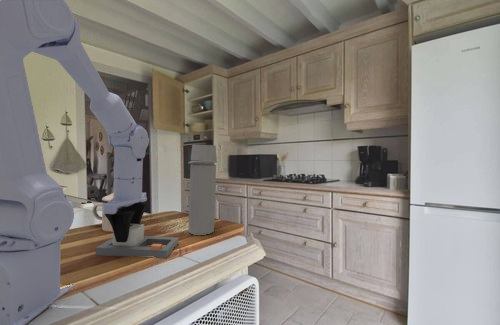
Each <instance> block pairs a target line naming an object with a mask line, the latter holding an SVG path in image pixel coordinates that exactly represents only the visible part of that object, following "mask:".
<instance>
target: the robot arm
mask: <svg viewBox="0 0 500 325" xmlns="http://www.w3.org/2000/svg"><path fill="white" fill-rule="evenodd" d="M31 53H35V54H38V55H41V56H44V57H47V58H49V59H52V60H55V61H57V62H58V63H59V64H60V66H61V67H62V68H63V69H64V70H65V72H66V73H67V74H68V75H69V76H70V78H72V80H74V82H75V83H76V84H77V85H78V87H79V88H81V90H82V91H83V92H84V93H85V94H86V96H87V97H88V98H89V100H90V103H89V110H90V111H91V113H92V114H93V116H95V118H96V119H97V120H98V121H99V123H100V124H101V125H102V126H103V128H104V131H105V133H106V137H107V143H108V145H109V146H111V148H113V149H114V150H113V151H114V153H113V154H114V156H113V192H112V193H113V198H112V199H111V200H110V201H109V202H108V203H105V204H104V214H105V216H106V217H107V219H108V220H109V222H110V224H111V226H112V229H113V232H114V236H115V239H116V242H126V241H127V240H128V236H129V228H130V224H141V221H142V218H143V215H144V214H145V212H146V210H147V208H148V206H149V205H148V203H147V200H148V197H147V192H143V166H144V165H143V164H144V163H143V162H144V158H145V156H146V151H147V148H148V146H149V143H150V137H149V134H148V132H147V130H146V128H144V127H143V126H142V125H140V124H137V123H136V121H135V119H134V118H133V117H132V114H131V113H130V112H129V109H128V108H127V106H126V105H125V103H124V102H123V100H122V98H121V97H120V96H119V95H118V94H115V93H113V92H110V91H109V89H108V88H107V86H106V85H105V83H104V81H103V79H102V78H101V75H100V74H99V72H98V71H97V69H96V67H95V65H94V63H93V61H92V60H91V58H90V56H89V54H88V53H87V50H86V49H85V47H84V46H83V44H82V41H81V25H80V23H79V22H78V21H77V19H76V18H75V16H74V15H73V13H72V10H71V8H70V6H69V3H67V1H66V0H0V325H27V324H29V322H30V321H31V320H33V319H35V317H37V316H38V315H40V314H41V313H42V312H43V311H45V310H46V309H47V308H49V307H50V306H52V303H53V302H55V301H57V300H58V299H59V298H60V297H61V296H63V295H64V294H66V293H67V292H68V291H70V290H71V289H73V288H74V287H75V284H74V285H72V286H69V287H68V286H67V287H68V288H67V287H65V288H62V289H60V283H61V255H62V254H61V252H62V251H61V248H62V246H61V242H62V240H65V235H66V234H67V233H68V231H69V230H70V228H71V227H72V225H73V224H74V218H75V212H74V208H73V206H72V204H71V203H70V202H69V200H68V199H67V198H66V197H65V194H64V189H63V188H64V187H62V186H61V185H60V183H58V182H57V181H56V180H55V179H53V178H52V177H51V175H50V174H48V173H47V172H48V171H47V168H46V164H45V159H44V153H43V148H42V144H41V139H40V135H39V130H38V125H37V121H36V116H35V112H34V107H33V102H32V96H31V93H30V88H29V81H28V78H27V73H26V69H25V64H24V63H25V62H24V58H25V57H26V56H28V55H29V54H31ZM113 232H112V233H113Z"/></svg>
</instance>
